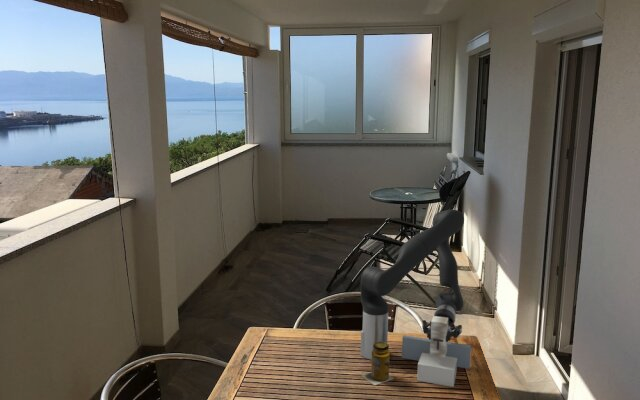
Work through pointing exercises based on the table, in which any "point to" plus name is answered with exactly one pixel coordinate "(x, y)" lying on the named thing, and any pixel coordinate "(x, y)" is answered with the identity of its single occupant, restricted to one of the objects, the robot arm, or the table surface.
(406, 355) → the screen
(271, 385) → the table surface
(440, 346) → the lettered block
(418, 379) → the plinth
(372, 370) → the condiment
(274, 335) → the table surface
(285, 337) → the table surface
